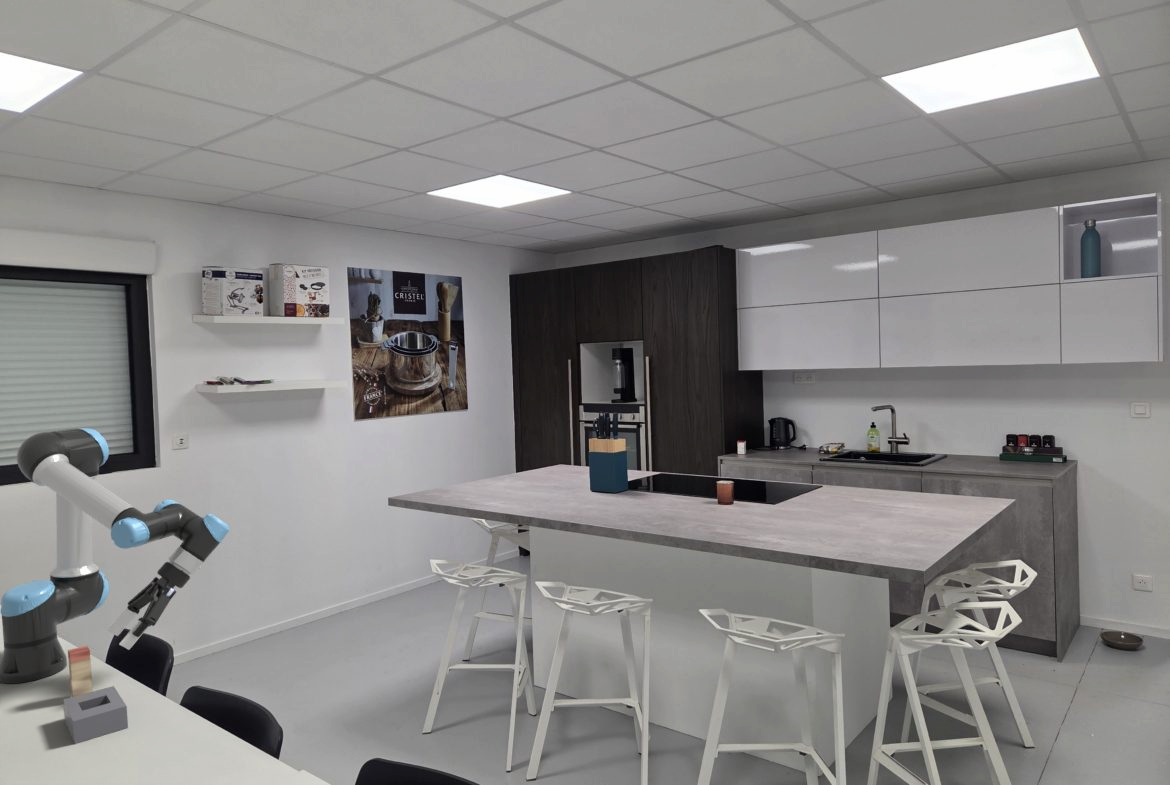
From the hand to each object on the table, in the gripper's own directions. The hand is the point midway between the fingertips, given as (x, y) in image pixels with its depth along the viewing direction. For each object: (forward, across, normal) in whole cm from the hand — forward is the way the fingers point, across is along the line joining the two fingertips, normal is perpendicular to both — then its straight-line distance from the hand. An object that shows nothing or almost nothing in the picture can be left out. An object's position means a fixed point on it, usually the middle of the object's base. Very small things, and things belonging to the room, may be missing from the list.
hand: (118, 640), depth 191 cm
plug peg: (+15, +1, -3) cm, 15 cm away
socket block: (+15, -19, -3) cm, 24 cm away
